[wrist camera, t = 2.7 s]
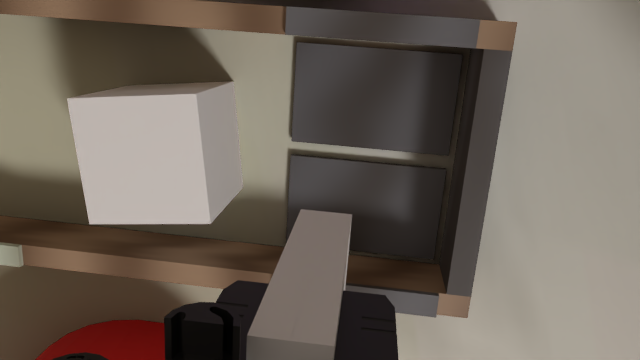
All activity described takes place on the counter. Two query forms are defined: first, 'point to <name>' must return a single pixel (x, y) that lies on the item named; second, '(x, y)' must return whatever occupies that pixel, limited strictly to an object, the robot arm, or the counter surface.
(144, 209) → the white cube
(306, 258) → the robot arm
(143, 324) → the toy clock
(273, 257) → the wooden tray
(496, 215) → the counter surface
